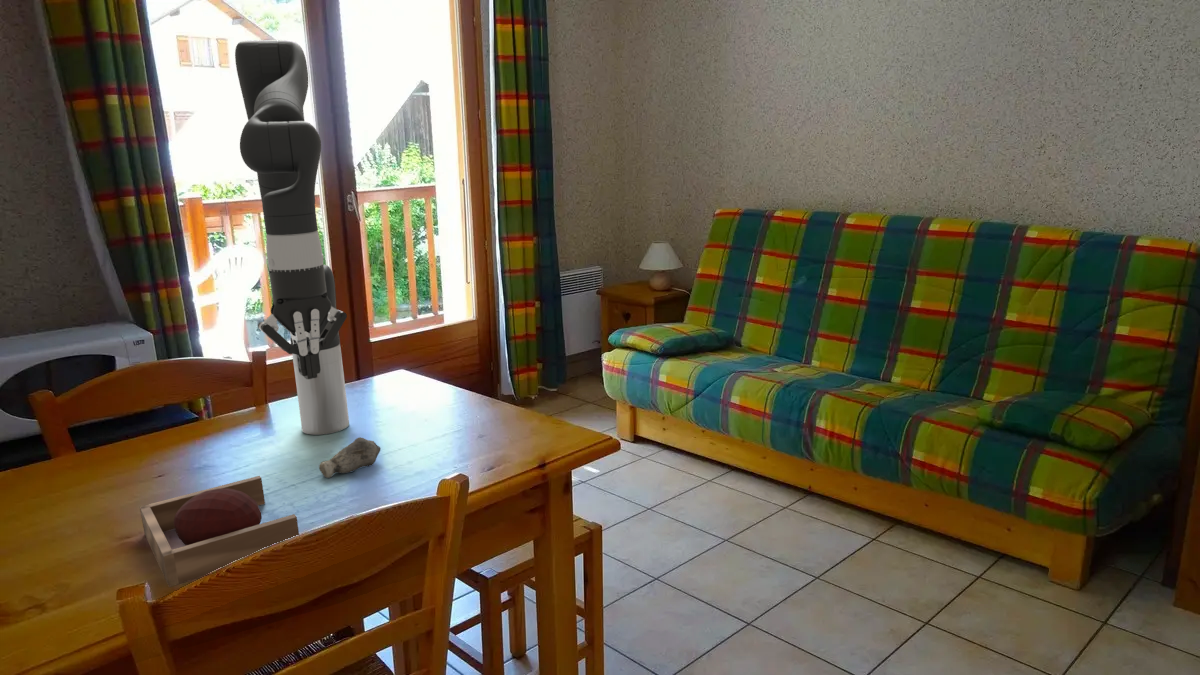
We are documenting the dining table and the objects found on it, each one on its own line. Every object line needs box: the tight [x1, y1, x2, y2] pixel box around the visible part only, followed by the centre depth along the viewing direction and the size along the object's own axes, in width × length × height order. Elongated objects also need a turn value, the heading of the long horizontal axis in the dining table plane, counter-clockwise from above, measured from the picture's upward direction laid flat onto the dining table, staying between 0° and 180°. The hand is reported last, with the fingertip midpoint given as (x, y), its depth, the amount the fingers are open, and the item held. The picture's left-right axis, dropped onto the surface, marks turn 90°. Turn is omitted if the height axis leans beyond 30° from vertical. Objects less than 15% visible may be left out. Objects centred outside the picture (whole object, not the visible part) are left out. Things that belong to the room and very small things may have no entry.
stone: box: [318, 436, 381, 479], centre depth 144 cm, size 10×5×8 cm
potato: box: [173, 488, 263, 546], centre depth 117 cm, size 12×11×8 cm
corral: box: [139, 475, 300, 588], centre depth 119 cm, size 19×17×4 cm
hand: (310, 377), depth 122 cm, fingers closed
